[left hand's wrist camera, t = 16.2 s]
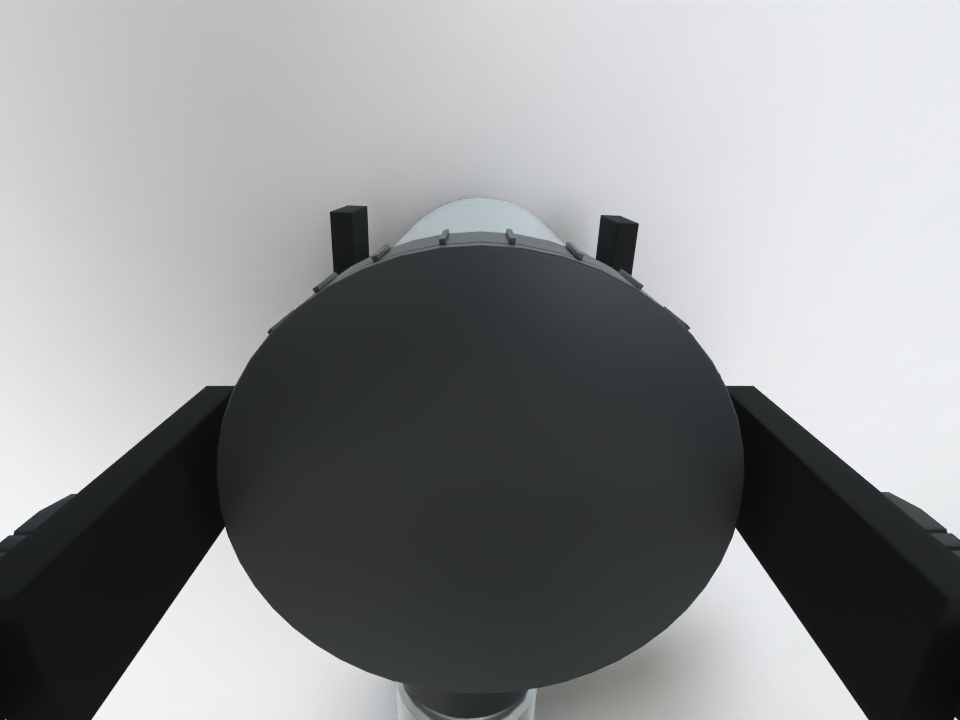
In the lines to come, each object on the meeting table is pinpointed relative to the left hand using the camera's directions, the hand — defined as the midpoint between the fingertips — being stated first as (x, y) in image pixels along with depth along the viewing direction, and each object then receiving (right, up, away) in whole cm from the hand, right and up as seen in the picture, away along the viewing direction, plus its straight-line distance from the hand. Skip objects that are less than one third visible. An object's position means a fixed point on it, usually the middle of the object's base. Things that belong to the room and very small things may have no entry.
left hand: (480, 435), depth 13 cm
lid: (0, -1, -2) cm, 3 cm away
